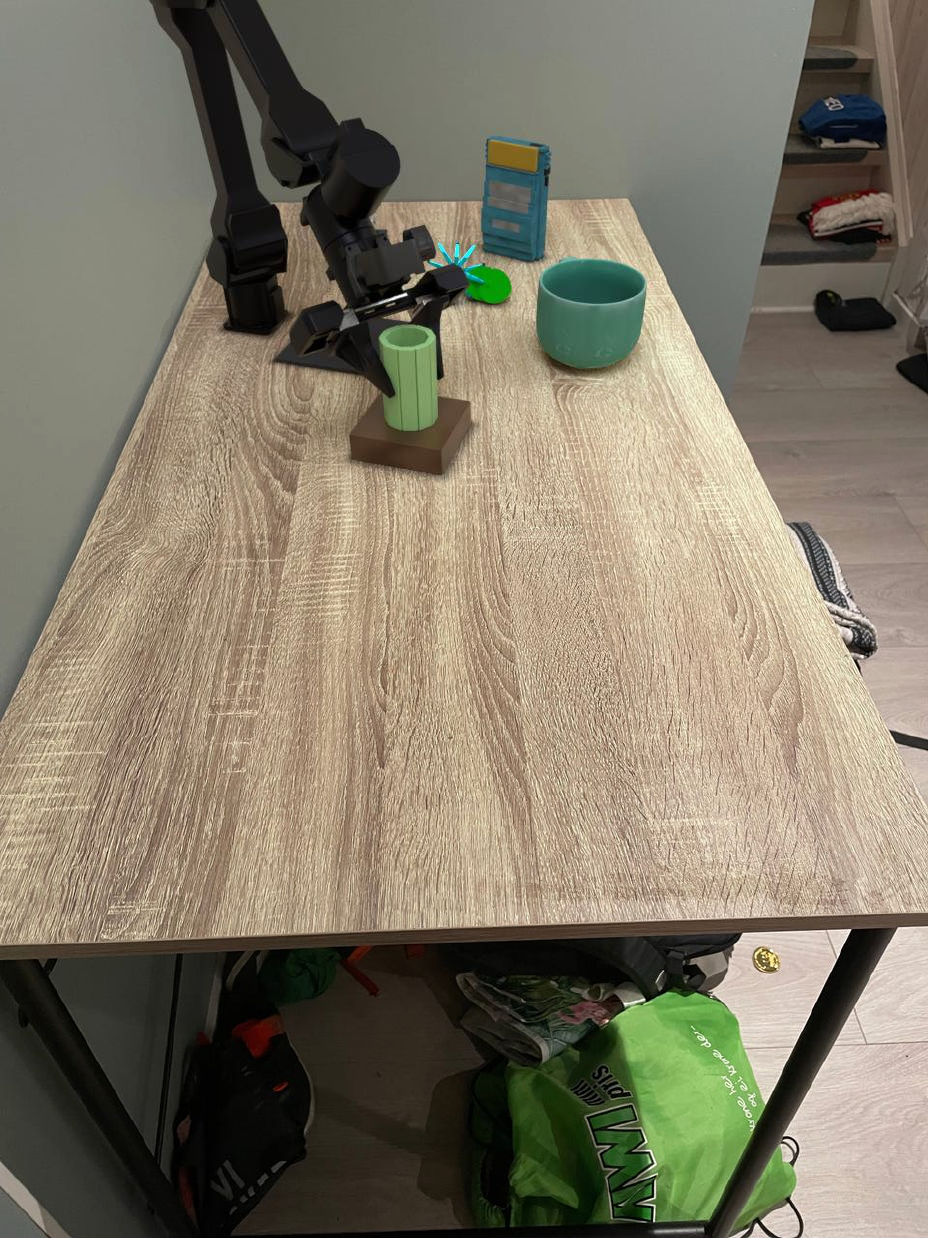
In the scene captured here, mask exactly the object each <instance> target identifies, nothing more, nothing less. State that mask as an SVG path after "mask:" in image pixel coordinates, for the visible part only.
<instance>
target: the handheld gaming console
mask: <svg viewBox="0 0 928 1238" xmlns="http://www.w3.org/2000/svg"><path fill="white" fill-rule="evenodd" d="M485 147H486V148H485V153H486V154H485V156H484V157H485V158H486V159H485V160H486V162H485V181H484V182H483V196H482V206H481V209H480V210H481V211H480V217H481V218H480V220H481V221H480V232H481V233H482V237H481V238H482V242H483V249H484V250H485V252H486V253H491V254H495V255H498V256H503V257H507V258H512V259H514V260H515V259H516V260H519V261H524V262H527V263H531V262H533V261H540V260H542V259H543V258H544V253H545V251H546V240H547V239H546V238H547V237H546V236H547V220H548V203H549V186H550V185H549V183H550V182H549V181H550V174H551V170H552V169H551V167H552V165H551V162H552V158H551V157H552V152H551V151H550V145H547V144H544V143H539V142H534V141H528V140H523V139H518V138H514V137H513V138H512V137H507V136H501V135H497V136H496V135H490V136H489V137H486V142H485Z"/></svg>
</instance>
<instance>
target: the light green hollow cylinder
mask: <svg viewBox="0 0 928 1238" xmlns="http://www.w3.org/2000/svg"><path fill="white" fill-rule="evenodd" d="M379 349H380V360H381V362H382V364H383V366H384V368H385V370H386V372H387V373H388V375H389V377H390V380H391V382H392V385H393V387H394V390H395V393H396V394H395V396H394V397H393V398H388V397H387V396H386V395H385V394H384V393H383V403H384V416H385V420H386V421H387V423H388V425H390V426H391V427H393V428H396V429H398V430H403V431H418V429H419V430H422V429H425V428H428V427H430V426H432V425H433V424H434V423H435V421H436V420H437V418H438V399H437V396H438V380H437V364H436V336H435V335H434V333H433V332H432V330H430V329H429V328H426V327H422V326H419V325H417V326H416V325H400V326H399V325H397V326H394V327H391V328H388V329H386V330H384V331H383V333H382V334H381V335H380V336H379Z"/></svg>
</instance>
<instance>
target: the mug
mask: <svg viewBox="0 0 928 1238" xmlns="http://www.w3.org/2000/svg"><path fill="white" fill-rule="evenodd" d="M647 290H648V283H647V279H646V277H645V275H644V274H643V273H642V272H641V271H639V270H638V269H636V268H635V267H633V266H630V265H628V264H626V263H623V262H620V261H615V260H611V259H603V258H579V257H576V256H564V257H562V258H561V259H559V260H558V261H557V263H554V264H552V265H550V266H547V268H545V269H544V270H543V271H542V273H541V274H540V276H539V280H538V286H537V299H536V313H535V314H536V315H535V329H536V336H537V340H538V342H539V344H540V347H541V348H542V349H543V351H544V352H545V353H546V354H547V355H548V356H550V357H551V358H552V359H554V360H555V361H558V362H560V363H562V364H564V365H566V366H568V367H571V368H574V369H580V370H599V369H603V368H606V367H609V366H611V365H614V364H617V363H618V362H620V361H623V360H624V359H625V358H626V357H628V356H629V355H630V354H631V353H632V352H633V351H634V349H635V348H636V346H637V344H638V342H639V339H640V336H641V334H642V333H641V331H642V327H643V322H644V316H645V315H644V314H645V309H646V299H647Z"/></svg>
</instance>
